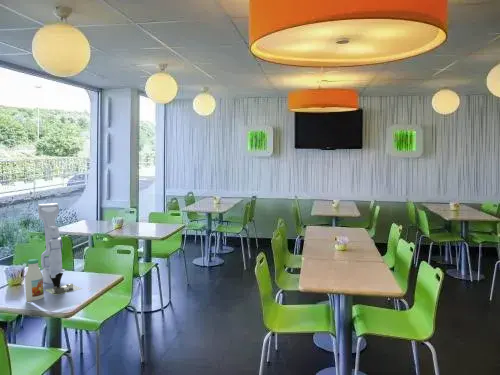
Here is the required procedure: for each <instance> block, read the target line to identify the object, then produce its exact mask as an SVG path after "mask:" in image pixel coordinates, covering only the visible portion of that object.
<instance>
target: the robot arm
mask: <svg viewBox="0 0 500 375" xmlns="http://www.w3.org/2000/svg"><path fill="white" fill-rule="evenodd" d="M37 205H38V206H37V211H38V218H39V220H41V221H42V222H43V225H44V237H45V240H44V241H45V250H44V251H43V252H42V253H41V255H40V263H41V264H40V265H41V268H42V271H41V273H42V276H43V284H48V285H49V284H51V285H52V284H53V285H52V286H57V288H58V287H60V286H61V282H62V277H63V276H64V272H65V271H66V269H63V259H62V257H63V256H62V250H63V240H62V236H60V230H59V227H58V226H56V219H57V218H58V216H59V213H60V206H59V204H58V203H57V202H54V203H53V202H52V203H39V204H37Z"/></svg>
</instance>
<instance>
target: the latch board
mask: <svg viewBox="0 0 500 375" xmlns="http://www.w3.org/2000/svg"><path fill="white" fill-rule="evenodd" d="M66 285H67V284H65V285H60V287H62V286H66ZM52 289H53V287H52V288H46V289H44V291H45V292H47V293H49V294H51V295H53V296H60V295H63V294H67V293H70V292H75V291H79V290H83V288H81V287H80V286H77V285H75V284H73V289H72V290H68V291H65V289H64V287H63V288H58V289H56V291H57V293H55V294H54V293H52Z"/></svg>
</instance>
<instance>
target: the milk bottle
mask: <svg viewBox="0 0 500 375" xmlns="http://www.w3.org/2000/svg"><path fill="white" fill-rule="evenodd" d="M27 266H28V268H27V270H26V274H25V277H24V282H25V283H24V284H25V285H24V287H25V301H26V302H27V303H33V301H38V300H41V299H43V298H44V297H45V295H44V294H45V292H44V291H45V290H44V283H43V273H42V271H41V269H40V267H39V259H38V258H32V259H31V258H29V259H28V260H27Z"/></svg>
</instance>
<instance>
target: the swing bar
mask: <svg viewBox="0 0 500 375" xmlns="http://www.w3.org/2000/svg"><path fill="white" fill-rule="evenodd" d="M65 285H66V286H64V285H61V286H62V287H58V288H63V287H64V289H65V291H68V290H72V289H73V285H74V283H66V284H65ZM52 286H53V287H52V288H53V289H52V293H54V294H55V293H57V291H56V289H58V288H57V286H54V285H52Z"/></svg>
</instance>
